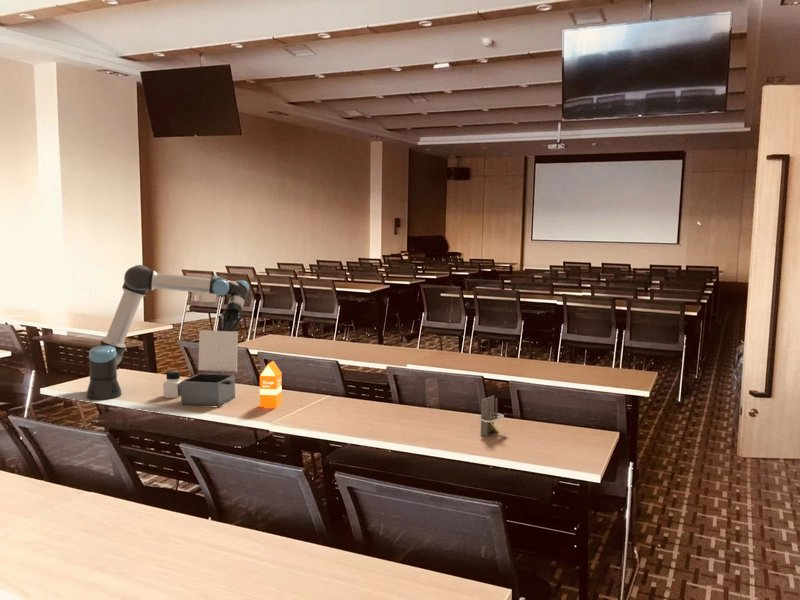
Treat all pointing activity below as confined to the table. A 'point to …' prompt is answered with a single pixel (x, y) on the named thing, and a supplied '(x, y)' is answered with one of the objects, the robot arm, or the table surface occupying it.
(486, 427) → the architectural model
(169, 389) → the medicine bottle
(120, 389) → the robot arm
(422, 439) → the table surface
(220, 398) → the grey storage box
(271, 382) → the orange juice
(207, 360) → the gray box lid
